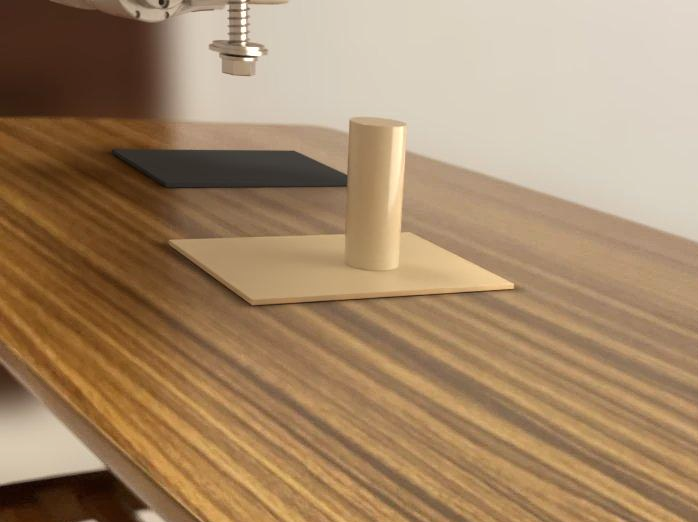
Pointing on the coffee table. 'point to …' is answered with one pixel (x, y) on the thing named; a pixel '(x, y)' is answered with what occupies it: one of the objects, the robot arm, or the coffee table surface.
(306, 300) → the cream mat
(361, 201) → the cream peg
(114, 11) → the robot arm
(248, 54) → the screw
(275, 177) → the slate mat
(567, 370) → the coffee table surface
